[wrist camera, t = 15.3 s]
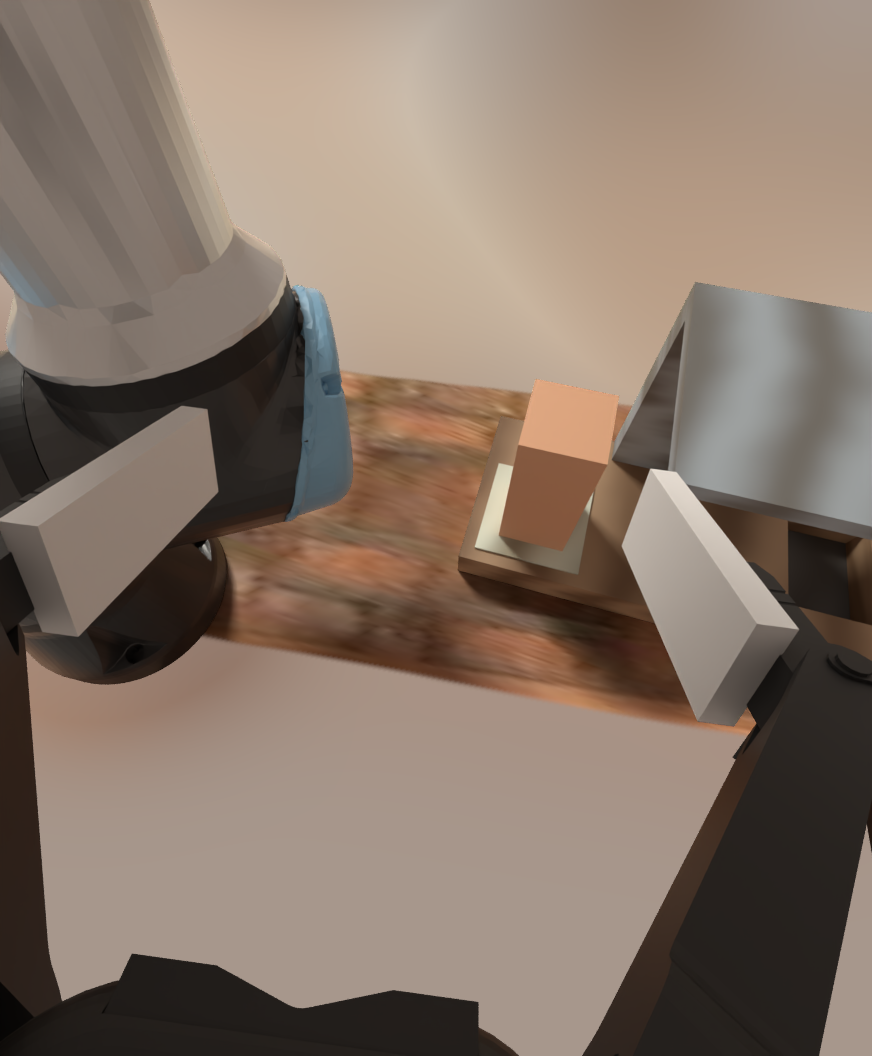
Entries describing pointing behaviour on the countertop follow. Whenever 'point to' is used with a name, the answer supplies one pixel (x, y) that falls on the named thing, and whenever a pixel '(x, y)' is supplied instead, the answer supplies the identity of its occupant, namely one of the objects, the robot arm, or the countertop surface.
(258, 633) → the countertop surface
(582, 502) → the orange block
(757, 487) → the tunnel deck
